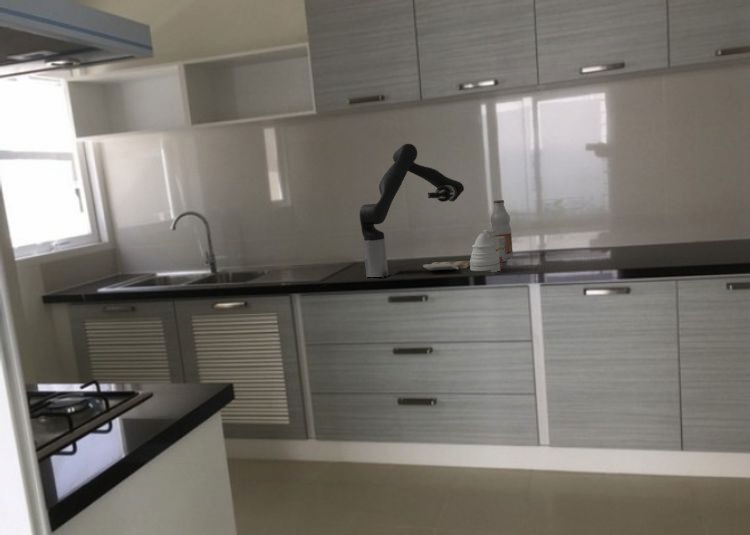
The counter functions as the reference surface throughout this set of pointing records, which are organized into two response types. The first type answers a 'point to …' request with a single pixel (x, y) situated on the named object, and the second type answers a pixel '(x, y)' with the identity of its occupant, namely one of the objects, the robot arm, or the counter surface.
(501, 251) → the ink cartridge box
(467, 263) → the bed
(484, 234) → the honey pot
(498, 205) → the fruit juice
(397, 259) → the counter surface
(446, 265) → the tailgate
